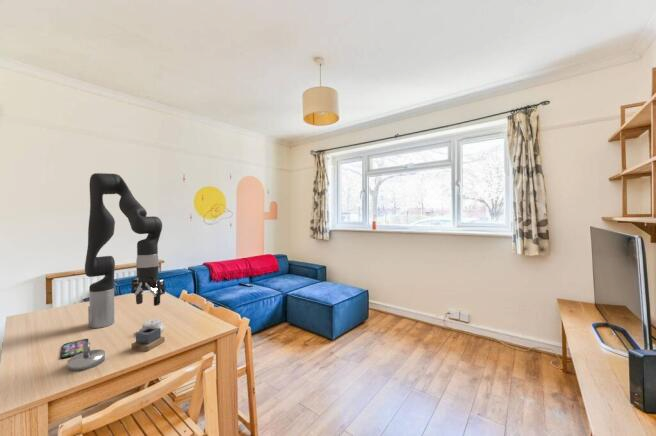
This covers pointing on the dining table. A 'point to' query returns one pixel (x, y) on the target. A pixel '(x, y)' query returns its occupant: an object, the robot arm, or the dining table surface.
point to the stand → (149, 346)
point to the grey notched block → (148, 335)
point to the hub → (86, 359)
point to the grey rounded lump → (153, 324)
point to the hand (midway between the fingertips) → (148, 304)
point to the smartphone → (72, 348)
